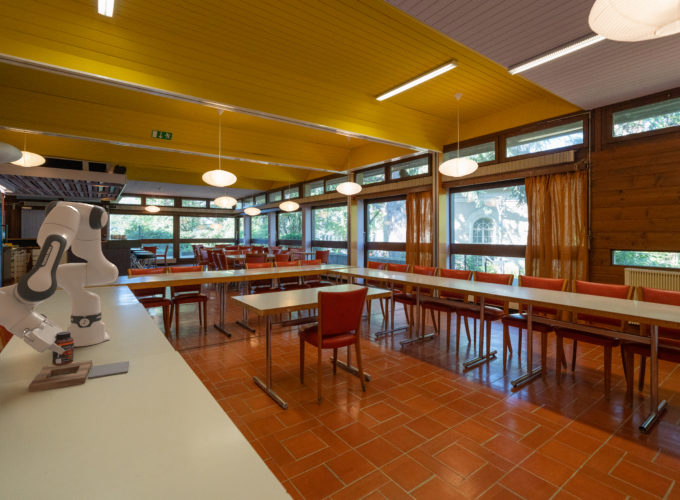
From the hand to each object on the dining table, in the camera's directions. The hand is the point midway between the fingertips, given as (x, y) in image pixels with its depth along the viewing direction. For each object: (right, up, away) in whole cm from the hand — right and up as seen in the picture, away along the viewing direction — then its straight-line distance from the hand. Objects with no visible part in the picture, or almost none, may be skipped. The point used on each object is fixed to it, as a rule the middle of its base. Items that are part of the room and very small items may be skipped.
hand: (65, 349), depth 120 cm
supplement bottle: (-1, -5, 0) cm, 5 cm away
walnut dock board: (-1, -10, 0) cm, 10 cm away
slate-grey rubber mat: (+11, -10, +7) cm, 17 cm away
